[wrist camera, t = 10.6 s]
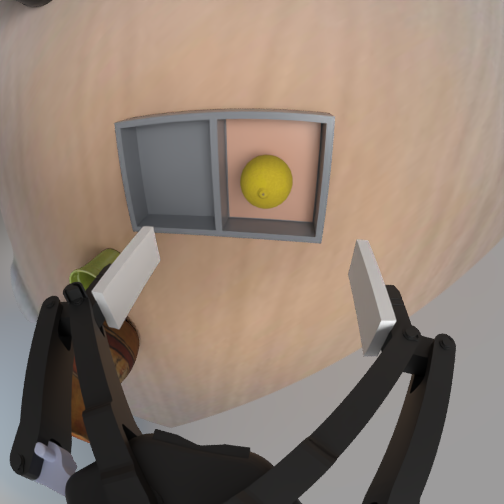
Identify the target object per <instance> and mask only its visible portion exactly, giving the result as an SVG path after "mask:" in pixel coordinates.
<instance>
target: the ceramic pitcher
mask: <svg viewBox="0 0 504 504" xmlns="http://www.w3.org/2000/svg"><path fill="white" fill-rule="evenodd" d="M102 325H103V327H104V329H105V333H106V337H107V340H108V344H109V348H110V351H111V355H112V358H113V362H114V365H115V368H116V371H117V374H118V377H119V380H120V383H122V381H123V380H124V379H125V378H126V377H127V375H128V374H129V373H130V371H131V369H132V367H133V365H134V363H135V361H136V358H137V354H138V349H139V339H138V336H137V334H136V332H135V330H134V329H133V327H132V326H131V325H130V324H129V323H128V322H126V321H125V320H124V322H123V324H122V325H121V327H120V329H116V328H112V327H109V326H108V324H107V322H106V320H105V321H104V323H103V324H102ZM83 411H85V405H84V401H83V397H82V393H81V389H80V384H79V379H78V374H77V369H76V363H75V357H74V362H73V375H72V396H71V429H72V436H73V437H76V438H78V439H80V440H83V441H85V442H88V443H90V442H89V438H88V435H87V432H86V428H85V425H84V421H83V417H82V412H83Z"/></svg>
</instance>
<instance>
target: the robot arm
mask: <svg viewBox="0 0 504 504" xmlns="http://www.w3.org/2000/svg"><path fill="white" fill-rule="evenodd" d="M16 1H18V2H20V3H22V4H24V5H25V6H34V7H38V6H42V5H44V4H46V3H48V2H50V1H51V0H16ZM159 262H160V256H159V251H158V247H157V242H156V238H155V233H154V228H153V227H150V226H143V227H142V228H141V230H140V231H139V232H138V233H137V234H136V235H135V237H134V238H133V239H132V240H131V241H130V243H129V244H128V245H127V246H126V247H125V249H124V250H123V251H122V252H121V254H120V255H119V256H118V257H117V259H116V260H115V261H114V262H113V264H111V263H109V264H108V265H107V266H105V267H104V268H103V269H102V270H101V271H100V273H99V275H97V276H96V278H95V279H94V280H93V282H92V283H91V284H90V285H89V287H88V288H87V289H86V291H85V289H84V287H83V284H82V283H81V282H73V283H71V284H69V285H67V286H66V287H65V289H64V290H63V295H64V297H65V299H66V300H67V302H60V300H59V298H58V297H57V296H51V297H49V298H47V299H46V300H45V301H44V302H43V304H42V307H41V310H40V313H39V317H38V320H37V324H36V328H35V332H34V336H33V340H32V344H31V349H30V354H29V358H28V363H27V369H26V375H25V381H24V389H23V397H22V405H21V418H20V424H19V427H18V430H17V434H16V436H15V440H14V443H13V446H12V450H11V453H10V465H11V467H12V469H13V470H14V471H15V472H16V473H17V474H19V475H21V476H23V477H25V478H28V479H30V480H32V481H35V482H37V483H40V484H42V485H45V486H47V487H49V488H50V489H52V490H54V491H56V492H58V493H59V494H61V495H63V496H65V497H66V501H67V504H302V503H301V502H300V501H299V499H298V498H299V497H300V496H301V495H302V494H303V493H304V492H305V491H307V490H308V489H309V488H310V487H311V486H312V485H313V484H314V483H315V482H316V481H317V480H318V479H319V478H320V477H321V476H322V475H323V474H324V473H325V472H326V471H327V470H328V469H329V468H330V467H331V466H332V465H333V464H334V463H335V461H336V460H337V458H338V457H339V456H340V455H341V454H342V453H343V452H344V450H345V449H346V448H347V447H348V446H349V445H350V443H351V442H352V441H353V440H354V439H355V438H356V436H357V435H358V434H359V433H360V432H361V430H362V429H363V428H364V427H365V425H366V424H367V423H368V421H369V420H370V419H371V417H372V416H373V415H374V413H375V412H376V410H377V409H378V408H379V407H380V405H381V404H382V402H383V401H384V399H385V398H386V397H387V395H388V394H389V392H390V391H391V389H392V388H393V386H394V385H395V383H396V382H397V380H398V378H399V377H400V375H401V374H402V372H406V373H410V374H412V376H411V380H410V384H409V387H408V391H407V394H406V397H405V401H404V404H403V407H402V410H401V413H400V416H399V419H398V422H397V425H396V428H395V430H394V433H393V436H392V438H391V441H390V443H389V445H388V448H387V450H386V453H385V455H384V457H383V460H382V462H381V464H380V466H379V468H378V471H377V473H376V475H375V477H374V479H373V481H372V483H371V485H370V487H369V489H368V491H367V493H366V495H365V497H364V500H363V503H362V504H419V502H420V497H421V495H422V492H423V490H424V487H425V485H426V482H427V479H428V477H429V474H430V471H431V468H432V465H433V462H434V459H435V456H436V453H437V449H438V446H439V442H440V439H441V435H442V431H443V427H444V422H445V418H446V413H447V408H448V404H449V398H450V392H451V386H452V379H453V371H454V362H455V351H456V345H455V342H454V340H453V339H452V338H451V337H450V336H448V335H447V334H439V335H437V336H436V337H435V339H432V338H427V337H424V336H422V335H421V333H420V332H419V330H418V329H417V328H416V327H415V326H412V325H411V322H410V319H409V316H408V314H407V311H406V308H405V306H404V302H403V300H402V297H401V294H400V292H399V290H398V289H397V288H396V287H395V286H394V285H385V284H384V281H383V278H382V275H381V273H380V270H379V267H378V265H377V262H376V259H375V257H374V254H373V251H372V249H371V246H370V244H369V241H368V240H359V239H357V240H356V244H355V249H354V253H353V257H352V261H351V265H350V269H349V273H348V276H349V280H350V285H351V289H352V294H353V299H354V304H355V309H356V314H357V319H358V325H359V330H360V336H361V342H362V348H363V355H364V356H378V354H379V352H380V350H381V351H382V353H381V354H380V355H379V357H378V358H377V360H376V361H375V362H374V364H373V365H372V366H371V368H370V369H369V370H368V371H367V373H366V374H365V375H364V377H363V378H362V379H361V380H360V381H359V383H358V384H357V385H356V386H355V388H354V389H353V390H352V391H351V392H350V394H349V395H348V396H347V397H346V398H345V399H344V400H343V402H342V403H341V404H340V405H339V406H338V407H337V408H336V409H335V410H334V412H333V413H332V414H331V415H330V416H329V417H328V418H327V419H326V420H325V421H324V422H323V423H322V424H321V425H320V426H319V427H318V428H317V429H316V430H315V431H314V432H313V433H312V434H311V435H310V436H309V437H308V438H306V439H305V440H304V441H302V442H301V443H300V444H299V445H298V446H297V447H296V448H295V449H294V450H293V451H291V452H290V453H289V454H288V455H287V456H286V457H285V458H284V459H282V460H281V461H280V462H279V463H278V464H277V465H276V466H273V465H272V464H271V463H270V462H269V461H267V460H266V459H265V458H263V457H261V456H259V455H257V454H255V453H252V452H250V448H249V447H240V446H233V445H226V444H224V445H206V446H205V445H204V446H200V445H197V444H195V443H193V442H191V441H188V440H186V439H184V438H182V437H181V436H178V435H176V434H172V433H168V432H165V431H161V430H158V429H155V431H154V433H151V434H142V433H141V431H140V430H139V428H138V427H137V425H136V423H135V421H134V418H133V416H132V413H131V411H130V408H129V406H128V403H127V400H126V398H125V395H124V392H123V389H122V386H121V383H120V380H119V377H118V374H117V371H116V368H115V365H114V362H113V358H112V355H111V351H110V348H109V344H108V340H107V337H106V333H105V329H104V327H103V325H102V324H103V323H104V321H105V320H106V322H107V324H108V326H109V327H112V328H116V329H120V327H121V325H122V324H123V322H124V320H125V318H126V317H127V315H128V313H129V311H130V310H131V308H132V306H133V304H134V303H135V301H136V299H137V298H138V296H139V294H140V293H141V291H142V289H143V288H144V286H145V284H146V283H147V281H148V279H149V278H150V276H151V274H152V273H153V271H154V270H155V268H156V266H157V265H158V263H159ZM74 357H75V363H76V369H77V374H78V379H79V384H80V389H81V393H82V397H83V401H84V405H85V411H83V412H82V417H83V421H84V425H85V428H86V432H87V435H88V438H89V442H90V445H91V448H92V451H93V454H94V456H95V459H96V461H95V462H93V463H92V464H90V465H88V466H86V467H85V468H83V469H81V470H79V471H78V472H75V470H76V469H77V465H76V463H75V462H74V460H73V457H72V455H71V446H72V429H71V396H72V375H73V362H74Z"/></svg>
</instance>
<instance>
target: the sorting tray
mask: <svg viewBox="0 0 504 504" xmlns="http://www.w3.org/2000/svg"><path fill="white" fill-rule="evenodd" d="M114 124H115V133H116V141H117V148H118V155H119V162H120V168H121V174H122V180H123V185H124V190H125V196H126V201H127V206H128V210H129V215H130V219H131V224H132V228H133V231H136V232H139V231H140V230H141V228H142V227H143V226H150V227H153V228H154V232H155V233H173V234H190V235H207V236H222V237H238V238H253V239H267V240H281V241H295V242H309V243H321V241H322V234H323V228H324V220H325V213H326V205H327V197H328V189H329V180H330V171H331V161H332V150H333V138H334V124H335V116H333V115H331V114H330V113H323V112H313V111H300V110H284V109H210V110H194V111H181V112H171V113H162V114H154V115H146V116H139V117H133V118H130V119H126V120H123V121H120V122H117V123H114ZM260 155H273V156H277V157H279V158H280V159H282V160H283V161H284V162H285V163H286V164H287V165H288V167H289V168H290V170H291V173H292V177H293V185H292V189H291V192H290V194H289V196H288V197H287V199H286V200H285V201H284V202H283V203H282V204H280V205H278V206H277V207H274V208H270V209H262V208H258V207H255V206H253V205H252V204H250V203H249V202H248V201H247V200H246V199H245V197H244V195H243V193H242V190H241V186H240V178H241V174H242V171H243V169H244V167H245V166H246V164H247V163H248V162H249V161H251V160H252V159H253V158H255V157H257V156H260Z"/></svg>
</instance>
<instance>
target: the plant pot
mask: <svg viewBox="0 0 504 504" xmlns="http://www.w3.org/2000/svg"><path fill="white" fill-rule="evenodd" d="M119 255H120V253H119V252H117V251H116V250H113V249H106V250H104V251H102V252H101V253H100V254H99V255H97V256H96V257H95V258H94V259H93V260H91V261H90V262H89V263H88V264H86V265H85V266H84V267H81V268H80V269H76V270H74V271H73V272H72V273H71V274H70V277H69V282H70V284H71V283H73V282H81V283H82V284H83V287H84V289H85V291H86V289H87V288H88V287H89V285H90V284H91V283H92V282H93V280H94V279H95V278H96V276H97V275H99V273H100V271H101V270H102V269H103V268H104V267H105V266H107V265H108V264H109V263H111V264H113V262H114V261H115V260H116V259H117V257H118V256H119Z"/></svg>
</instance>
